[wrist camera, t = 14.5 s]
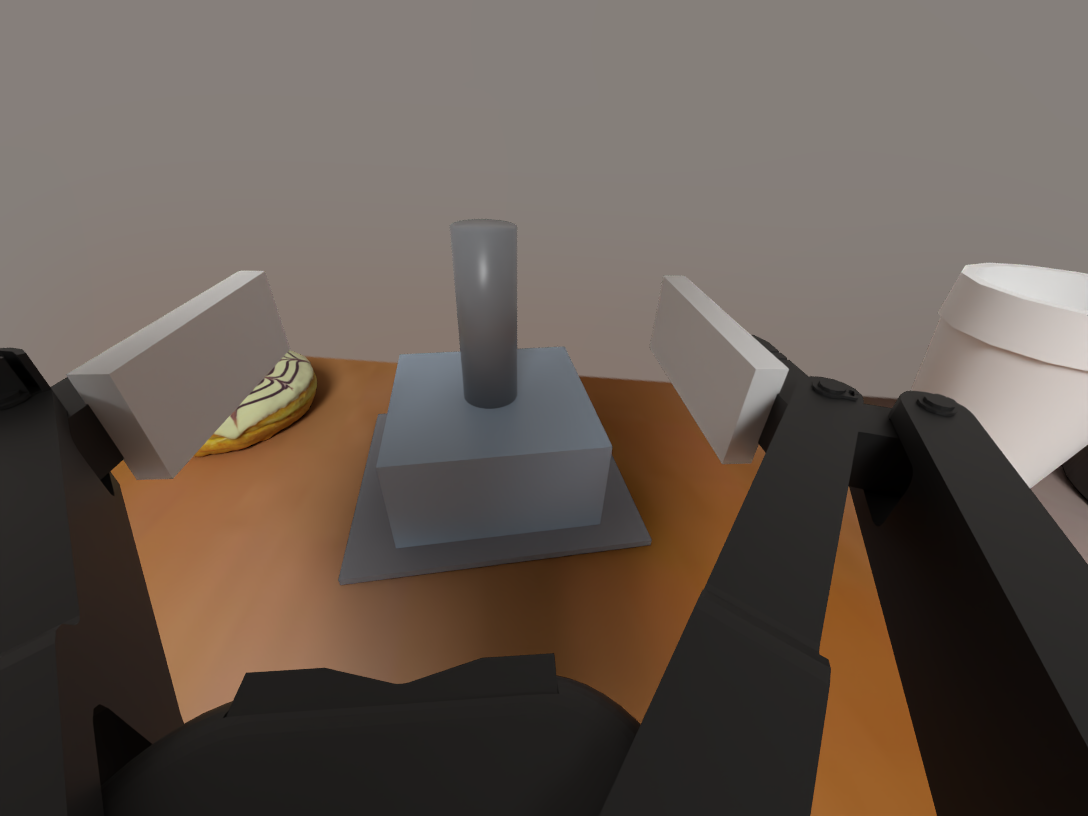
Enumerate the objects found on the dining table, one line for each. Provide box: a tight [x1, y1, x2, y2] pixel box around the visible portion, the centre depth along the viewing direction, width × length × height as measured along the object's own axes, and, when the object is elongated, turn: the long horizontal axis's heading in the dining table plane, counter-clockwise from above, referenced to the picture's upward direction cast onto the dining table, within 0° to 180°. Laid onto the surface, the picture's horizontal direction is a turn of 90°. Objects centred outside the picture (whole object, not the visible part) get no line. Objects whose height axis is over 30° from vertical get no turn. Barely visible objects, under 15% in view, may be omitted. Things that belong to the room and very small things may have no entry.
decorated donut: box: [194, 350, 317, 457], centre depth 31 cm, size 10×11×4 cm
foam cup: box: [911, 263, 1088, 488], centre depth 25 cm, size 10×9×13 cm
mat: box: [338, 414, 652, 585], centre depth 28 cm, size 16×14×1 cm
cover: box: [376, 219, 612, 548], centre depth 24 cm, size 11×11×15 cm
